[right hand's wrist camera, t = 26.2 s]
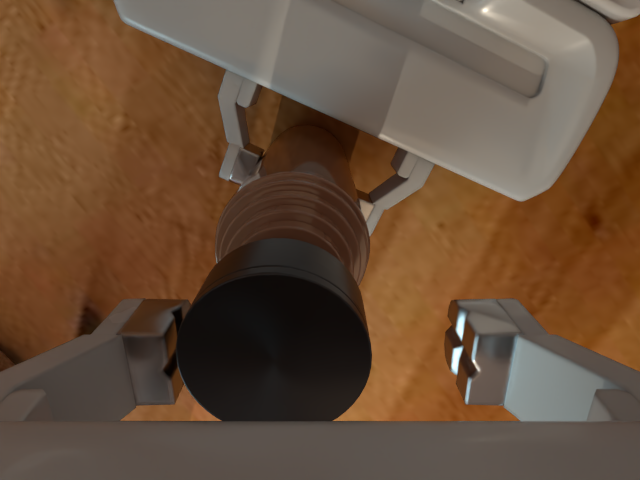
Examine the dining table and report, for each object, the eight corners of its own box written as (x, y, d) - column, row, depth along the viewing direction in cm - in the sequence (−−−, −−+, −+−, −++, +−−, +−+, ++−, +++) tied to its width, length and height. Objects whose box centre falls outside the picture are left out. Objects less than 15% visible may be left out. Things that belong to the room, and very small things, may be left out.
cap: (278, 403, 11) (270, 463, 9) (166, 306, 10) (134, 353, 8) (396, 319, 10) (411, 368, 8) (286, 202, 9) (278, 231, 7)
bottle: (319, 219, 27) (315, 457, 10) (251, 178, 26) (122, 368, 9) (362, 153, 25) (444, 305, 8) (292, 108, 24) (227, 177, 8)
